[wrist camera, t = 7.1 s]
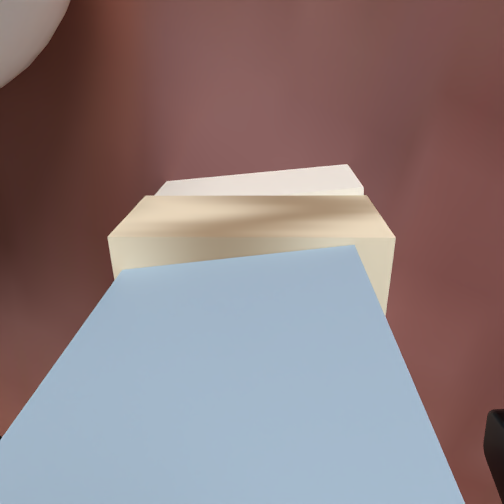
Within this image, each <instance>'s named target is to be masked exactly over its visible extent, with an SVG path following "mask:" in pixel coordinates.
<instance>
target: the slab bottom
mask: <svg viewBox="0 0 504 504" xmlns="http://www.w3.org/2000/svg"><path fill="white" fill-rule="evenodd" d="M304 195H364V187H363V186H362V184H361V183H360V182H359V180H358V179H357V177H356V176H355V174H354V173H353V172H352V170H351V169H350V167H349V166H348V164H345V165H334V166H324V167H313V168H302V169H292V170H281V171H271V172H260V173H250V174H239V175H229V176H218V177H208V178H197V179H186V180H176V181H166V183H165V184H164V185H163V186H162V187H161V188H160V190H159V191H158V192H157V193H156V194H155V195H154V196H304Z"/></svg>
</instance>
